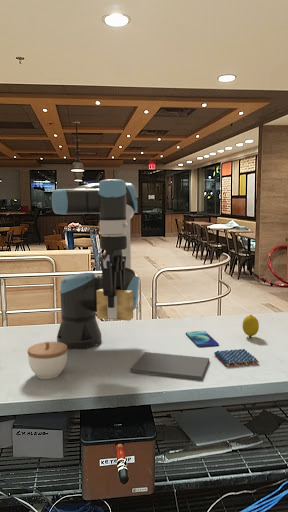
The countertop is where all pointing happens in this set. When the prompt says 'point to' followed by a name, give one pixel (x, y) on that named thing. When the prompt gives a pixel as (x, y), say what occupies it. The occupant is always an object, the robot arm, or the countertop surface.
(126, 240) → the robot arm
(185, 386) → the countertop surface
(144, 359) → the mat
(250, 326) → the lemon
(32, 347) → the lidded jar
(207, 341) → the smartphone
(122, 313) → the block
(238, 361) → the woven mat
